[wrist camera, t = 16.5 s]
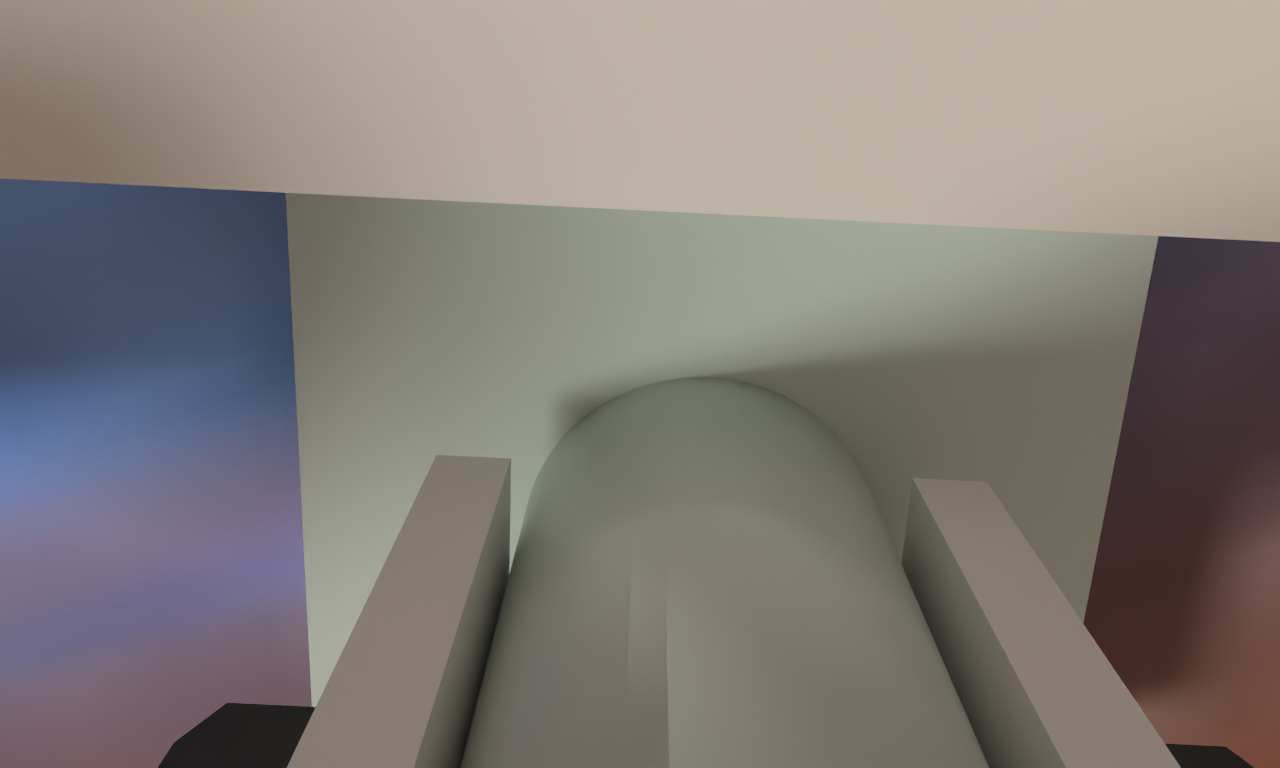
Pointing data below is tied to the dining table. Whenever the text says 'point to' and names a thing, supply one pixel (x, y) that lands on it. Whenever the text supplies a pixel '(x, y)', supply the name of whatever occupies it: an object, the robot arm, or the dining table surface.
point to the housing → (672, 105)
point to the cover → (702, 455)
